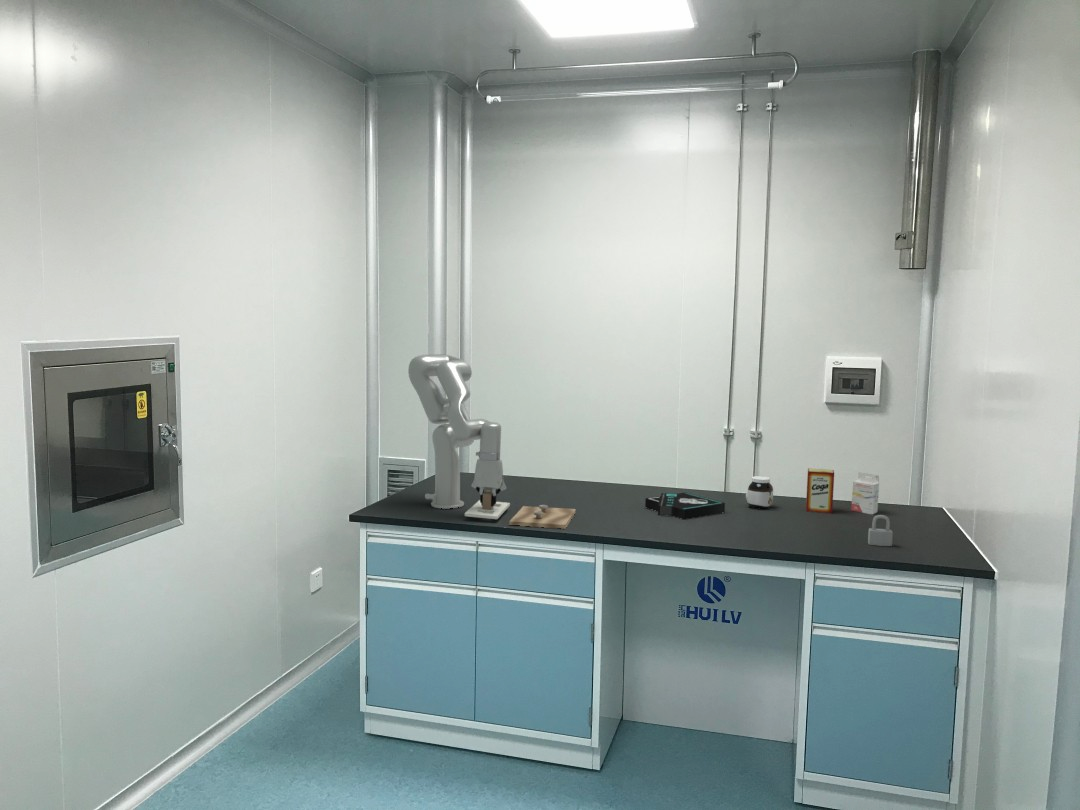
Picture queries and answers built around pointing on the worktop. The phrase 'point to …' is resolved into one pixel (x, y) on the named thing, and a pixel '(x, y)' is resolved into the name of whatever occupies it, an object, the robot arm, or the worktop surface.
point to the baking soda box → (820, 490)
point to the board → (543, 517)
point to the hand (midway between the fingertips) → (488, 504)
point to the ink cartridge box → (865, 493)
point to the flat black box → (684, 505)
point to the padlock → (880, 533)
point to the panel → (483, 514)
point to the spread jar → (760, 492)
